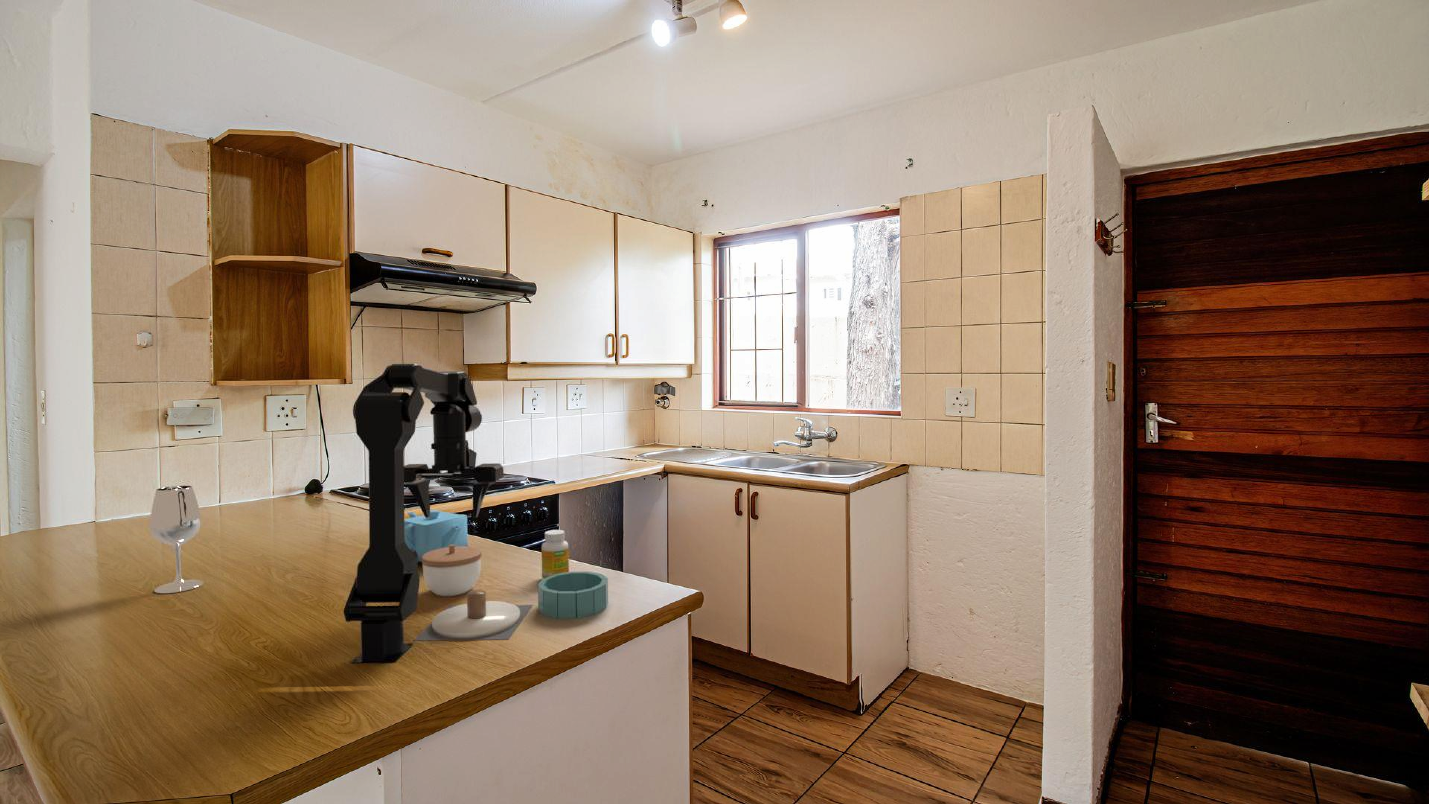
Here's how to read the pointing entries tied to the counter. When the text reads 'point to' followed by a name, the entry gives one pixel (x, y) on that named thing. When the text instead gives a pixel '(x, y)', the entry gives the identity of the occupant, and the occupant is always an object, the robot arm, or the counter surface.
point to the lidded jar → (451, 569)
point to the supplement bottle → (554, 554)
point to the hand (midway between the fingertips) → (451, 517)
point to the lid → (475, 617)
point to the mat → (503, 635)
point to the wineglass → (175, 528)
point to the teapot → (435, 531)
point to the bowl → (573, 595)
